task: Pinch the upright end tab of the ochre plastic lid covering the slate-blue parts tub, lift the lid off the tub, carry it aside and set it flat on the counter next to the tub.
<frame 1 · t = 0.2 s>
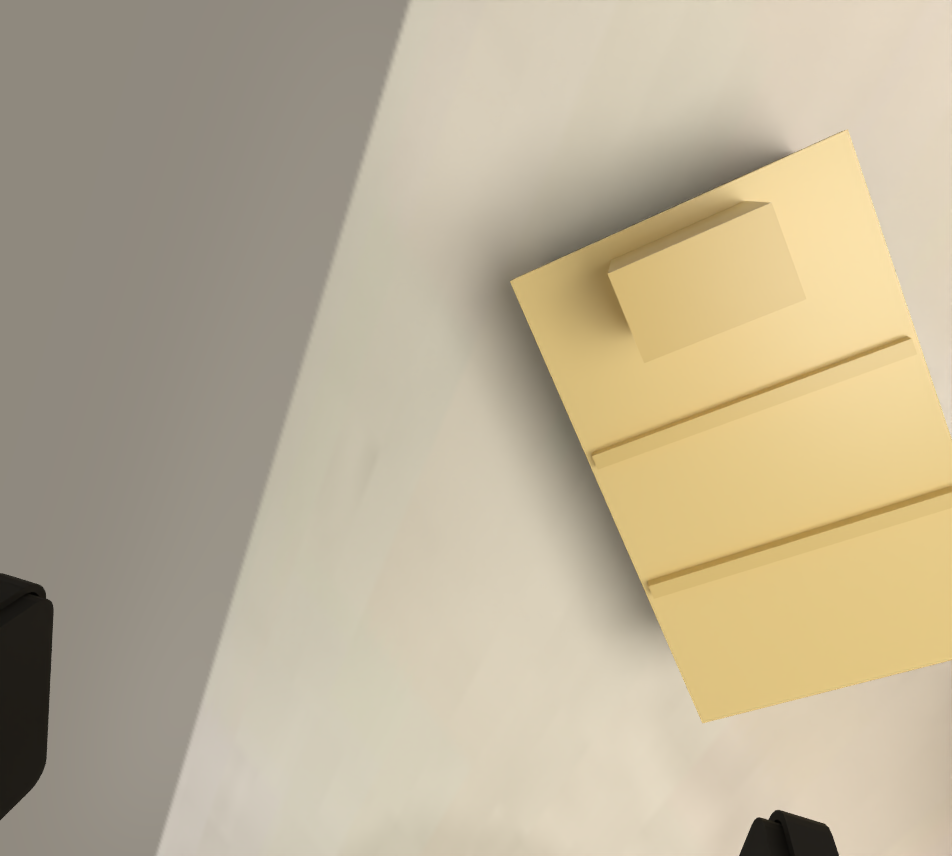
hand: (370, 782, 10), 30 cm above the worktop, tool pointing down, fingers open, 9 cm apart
lid: (762, 456, 31), point 7 cm above the worktop, touching tub
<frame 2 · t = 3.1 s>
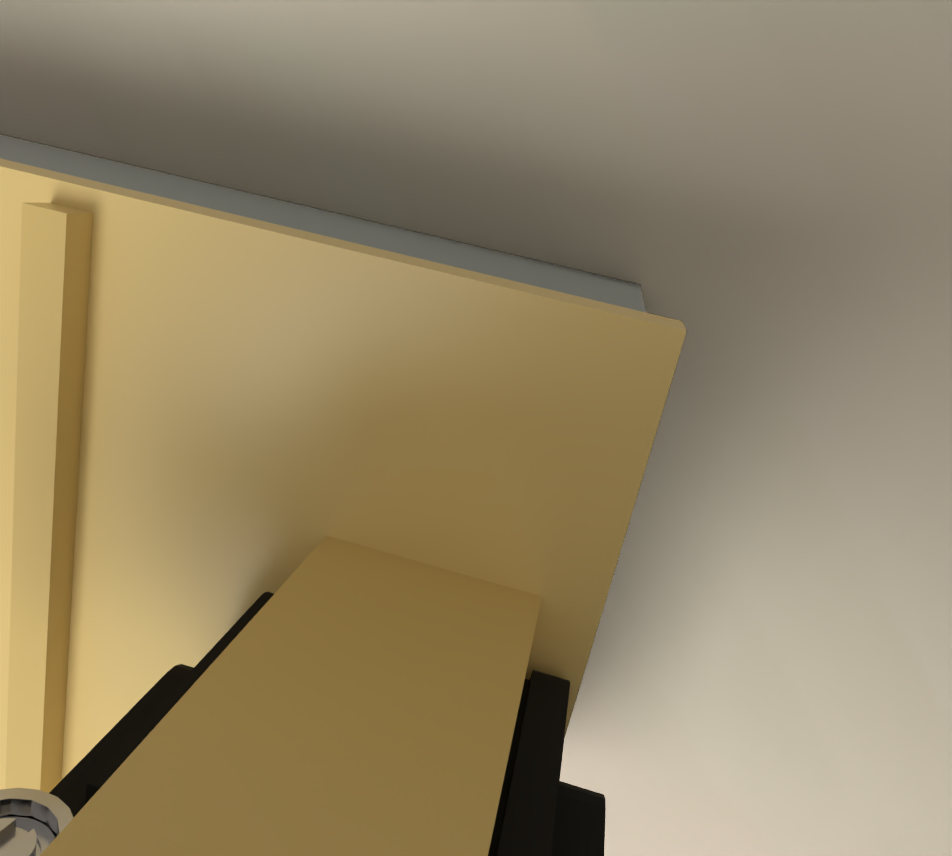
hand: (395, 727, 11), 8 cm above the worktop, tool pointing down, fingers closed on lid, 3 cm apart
tub: (179, 428, 19), on the worktop
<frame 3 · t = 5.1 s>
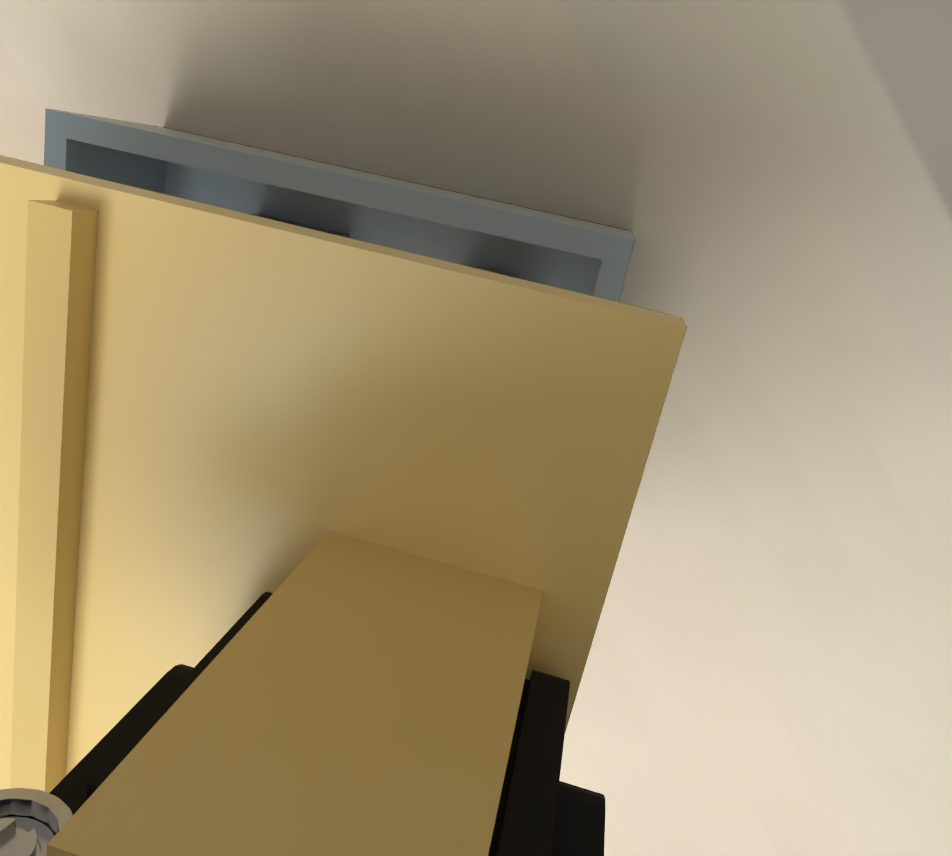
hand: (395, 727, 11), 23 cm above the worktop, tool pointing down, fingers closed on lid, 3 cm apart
tub: (365, 321, 33), on the worktop
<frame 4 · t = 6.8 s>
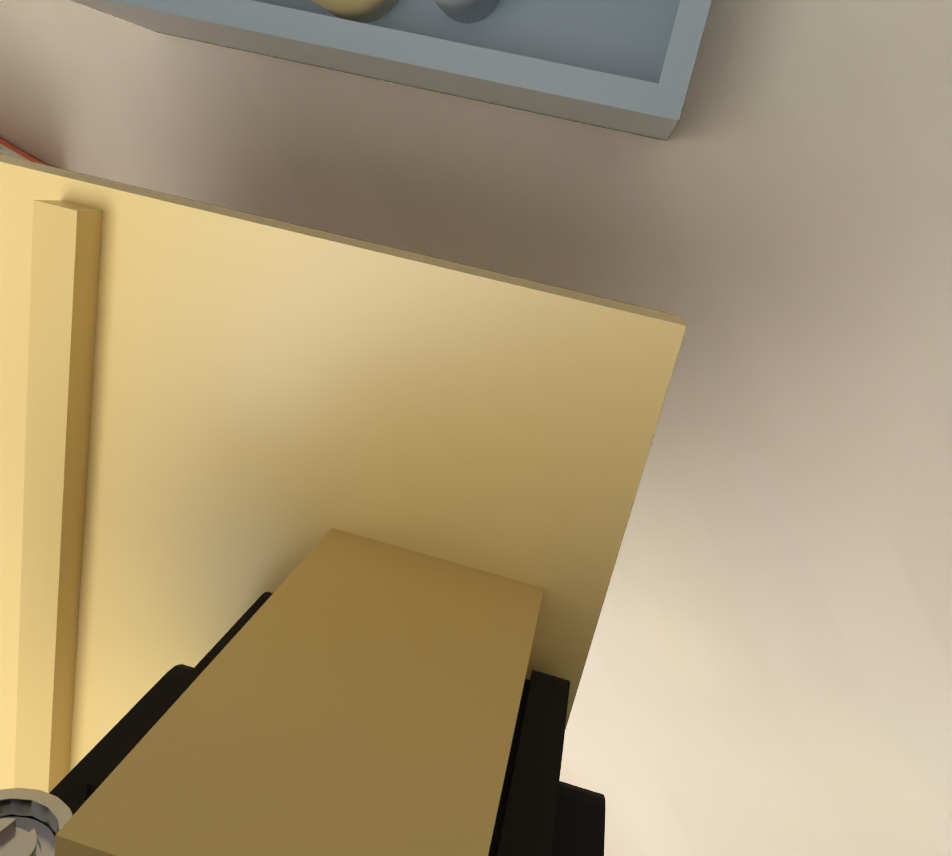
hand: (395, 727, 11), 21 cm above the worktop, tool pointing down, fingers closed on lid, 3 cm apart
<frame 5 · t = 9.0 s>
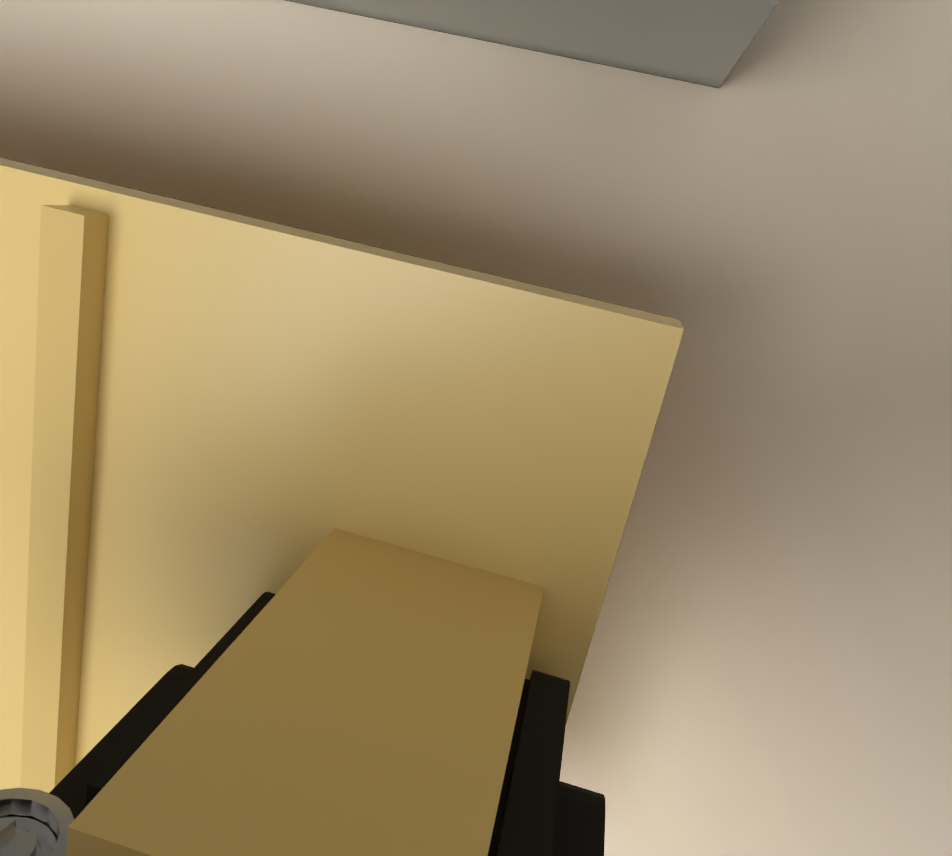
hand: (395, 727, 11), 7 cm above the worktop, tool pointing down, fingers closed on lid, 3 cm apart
when the fingers open (2 cm above the worktop, at t = 10.8 s): lid drops 1 cm, on the worktop.
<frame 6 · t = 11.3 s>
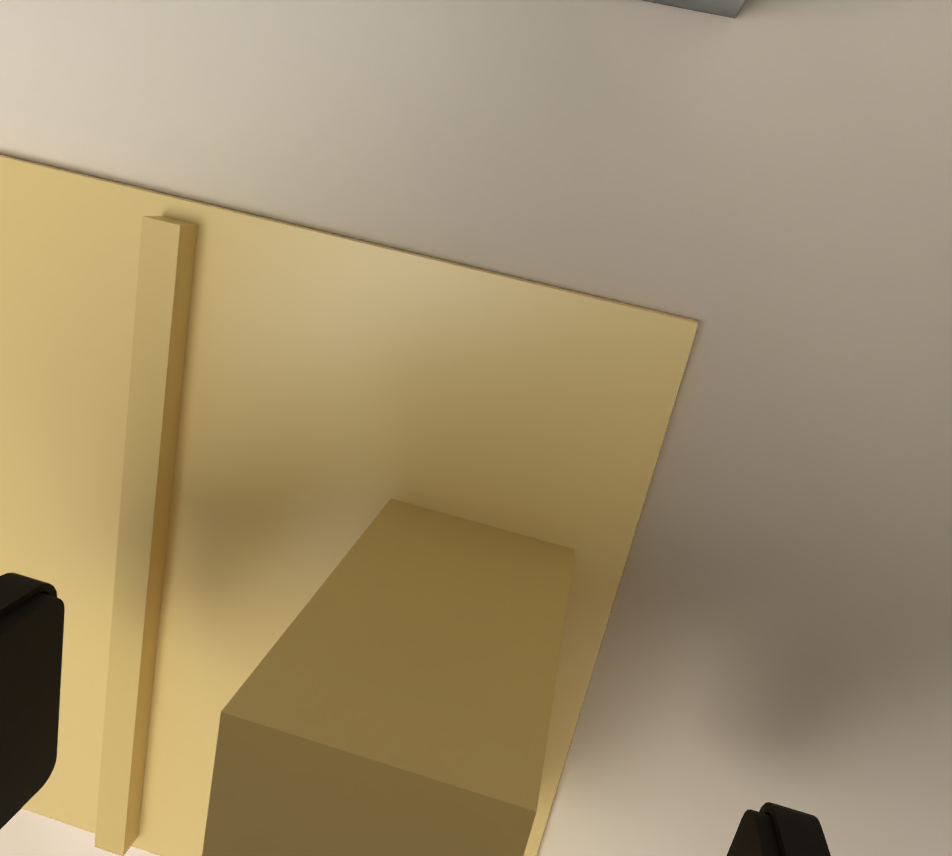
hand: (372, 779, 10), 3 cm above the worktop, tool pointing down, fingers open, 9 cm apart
lid: (51, 512, 15), on the worktop
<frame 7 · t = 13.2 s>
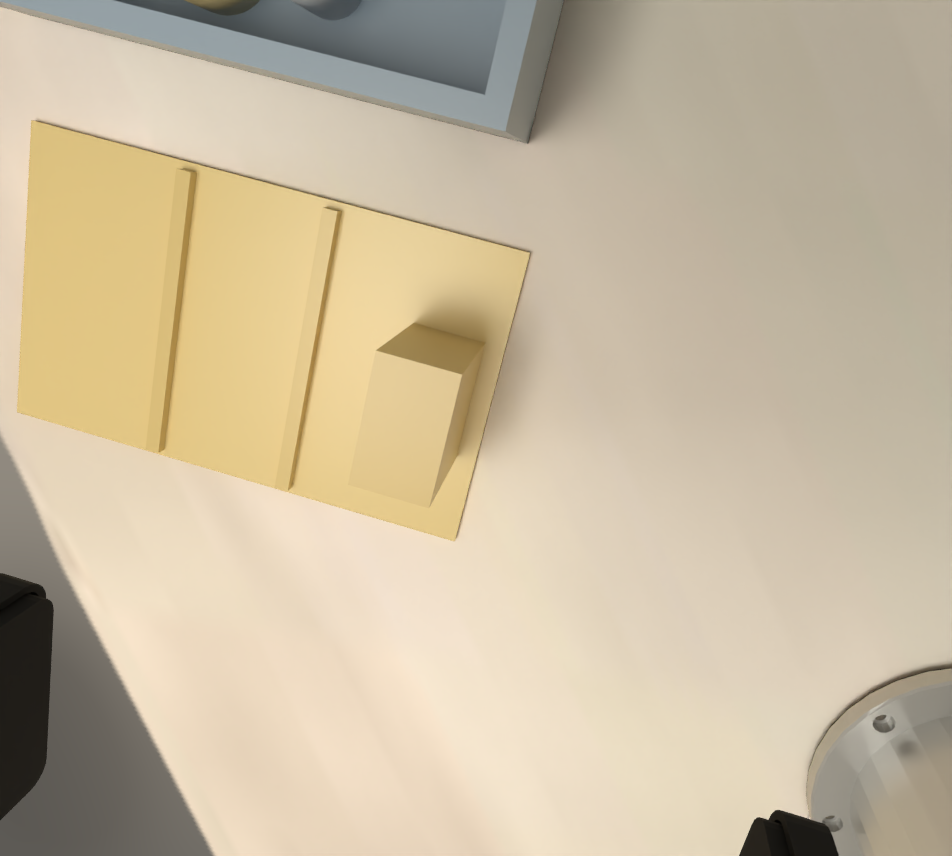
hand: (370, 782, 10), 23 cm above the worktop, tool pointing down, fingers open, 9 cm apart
lid: (259, 335, 33), on the worktop
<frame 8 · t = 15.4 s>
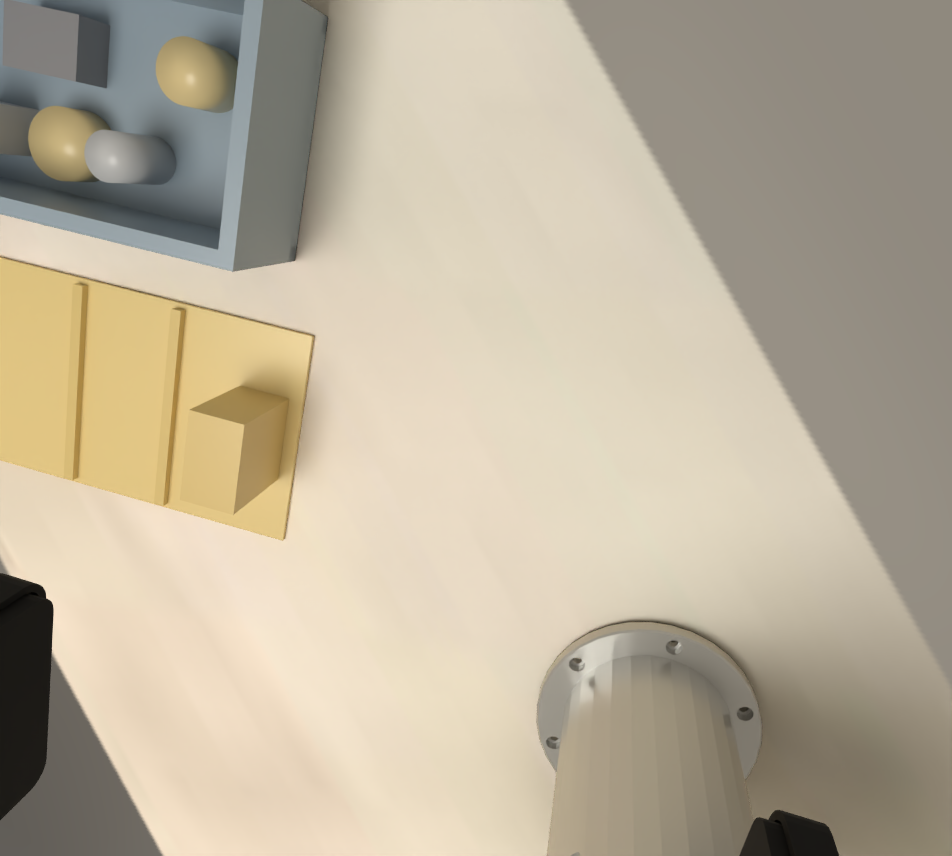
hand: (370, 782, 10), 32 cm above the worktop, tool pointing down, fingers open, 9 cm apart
tub: (132, 104, 41), on the worktop
lid: (140, 395, 46), on the worktop
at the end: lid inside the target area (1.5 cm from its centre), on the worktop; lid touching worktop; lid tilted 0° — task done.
